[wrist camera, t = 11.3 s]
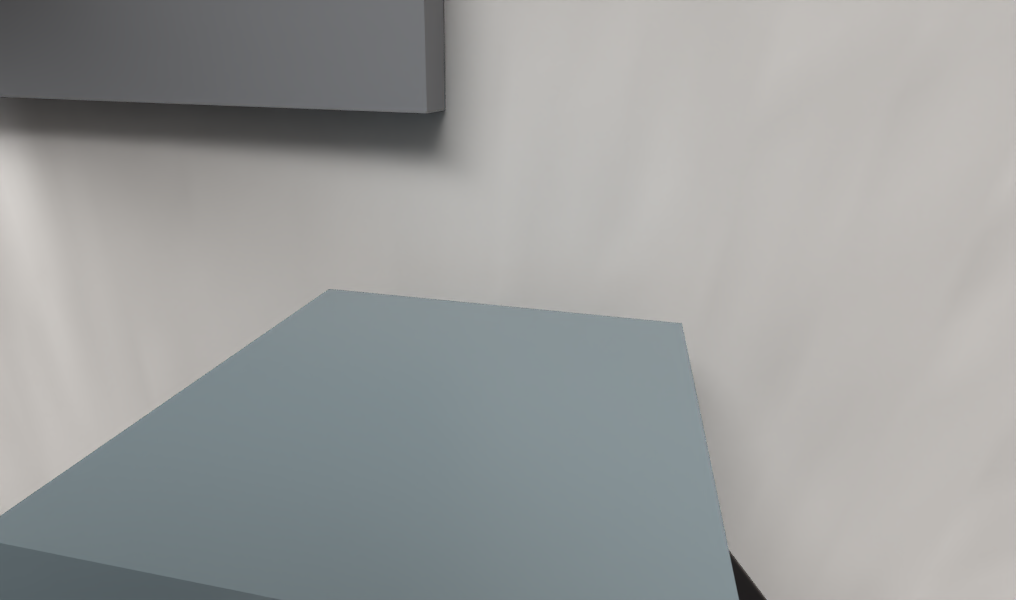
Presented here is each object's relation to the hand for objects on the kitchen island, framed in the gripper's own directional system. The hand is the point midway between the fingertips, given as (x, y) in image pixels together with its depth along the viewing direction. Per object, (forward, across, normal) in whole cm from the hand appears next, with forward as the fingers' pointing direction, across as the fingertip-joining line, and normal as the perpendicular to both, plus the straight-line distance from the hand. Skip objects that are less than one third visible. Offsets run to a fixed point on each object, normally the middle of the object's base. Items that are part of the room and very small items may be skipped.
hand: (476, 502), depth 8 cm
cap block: (+1, 0, 0) cm, 1 cm away
